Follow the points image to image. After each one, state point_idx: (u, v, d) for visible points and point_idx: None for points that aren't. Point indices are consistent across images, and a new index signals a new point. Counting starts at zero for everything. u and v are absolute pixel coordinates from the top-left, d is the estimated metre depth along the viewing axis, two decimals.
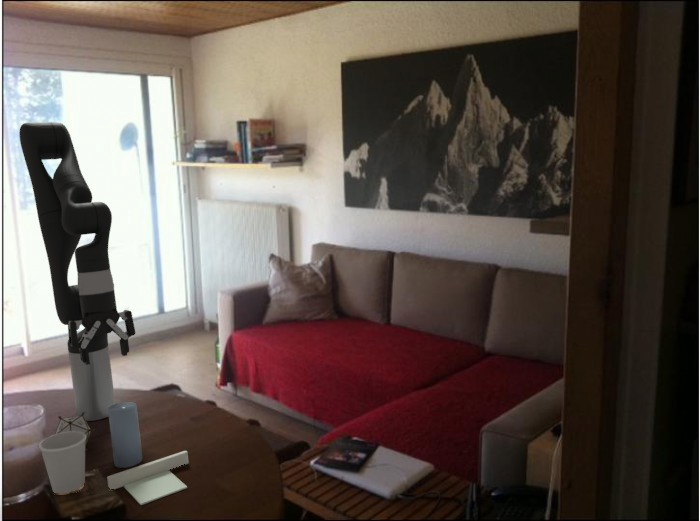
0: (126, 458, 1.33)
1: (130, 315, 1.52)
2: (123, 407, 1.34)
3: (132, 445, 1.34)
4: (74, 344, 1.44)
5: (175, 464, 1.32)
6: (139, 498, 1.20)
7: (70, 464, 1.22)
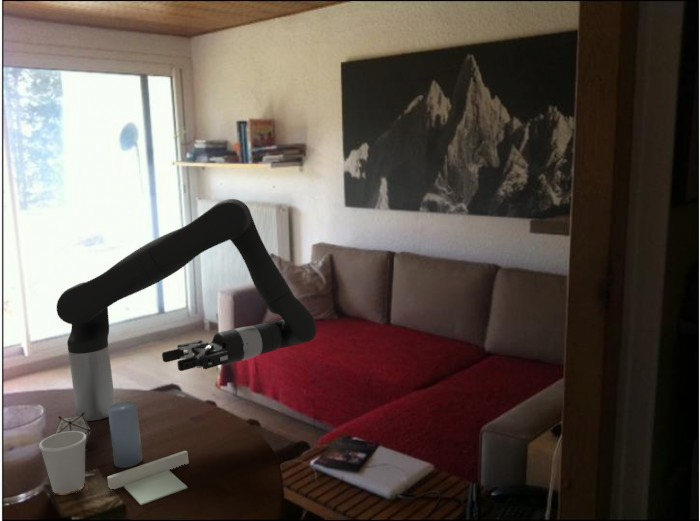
0: (126, 458, 1.33)
1: None
2: (123, 407, 1.34)
3: (132, 445, 1.34)
4: None
5: (175, 464, 1.32)
6: (139, 498, 1.20)
7: (70, 464, 1.22)
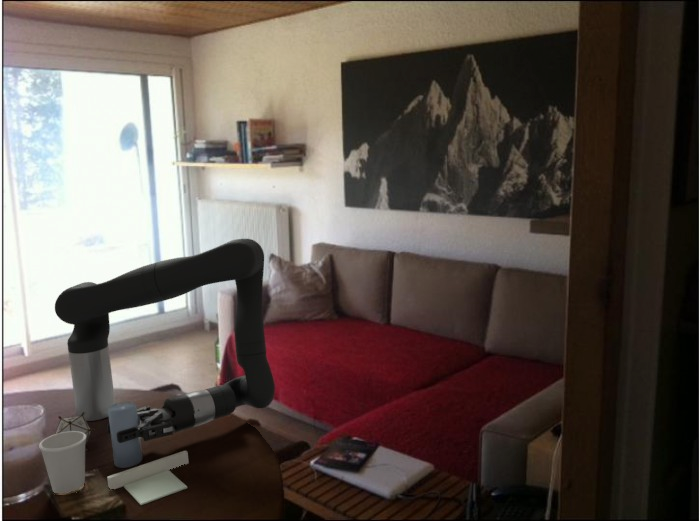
0: (126, 458, 1.33)
1: None
2: (123, 407, 1.34)
3: (132, 445, 1.34)
4: None
5: (175, 464, 1.32)
6: (139, 498, 1.20)
7: (70, 464, 1.22)
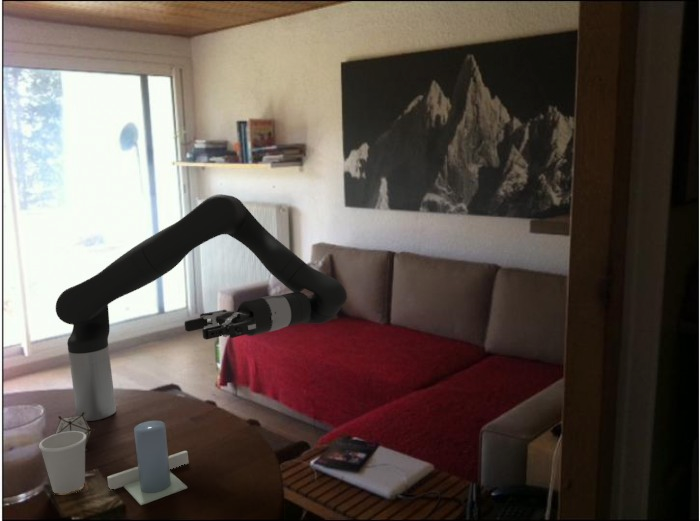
0: (154, 483, 1.21)
1: None
2: (151, 427, 1.22)
3: (160, 469, 1.22)
4: None
5: (175, 464, 1.32)
6: (139, 498, 1.20)
7: (70, 464, 1.22)
